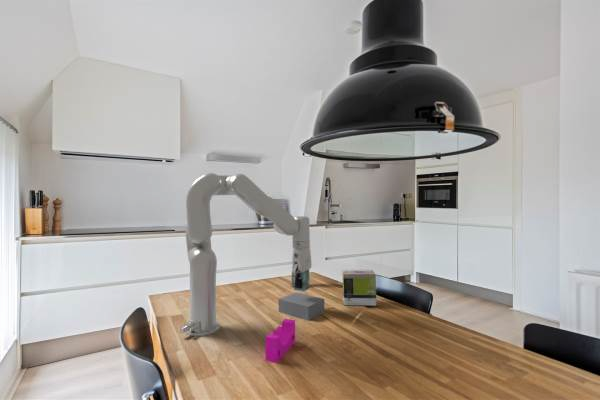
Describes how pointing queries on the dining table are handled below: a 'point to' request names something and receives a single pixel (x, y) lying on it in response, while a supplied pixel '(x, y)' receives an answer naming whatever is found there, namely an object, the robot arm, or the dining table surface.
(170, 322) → the dining table surface
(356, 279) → the tea box
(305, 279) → the teal block
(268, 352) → the toy block
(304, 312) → the plinth
